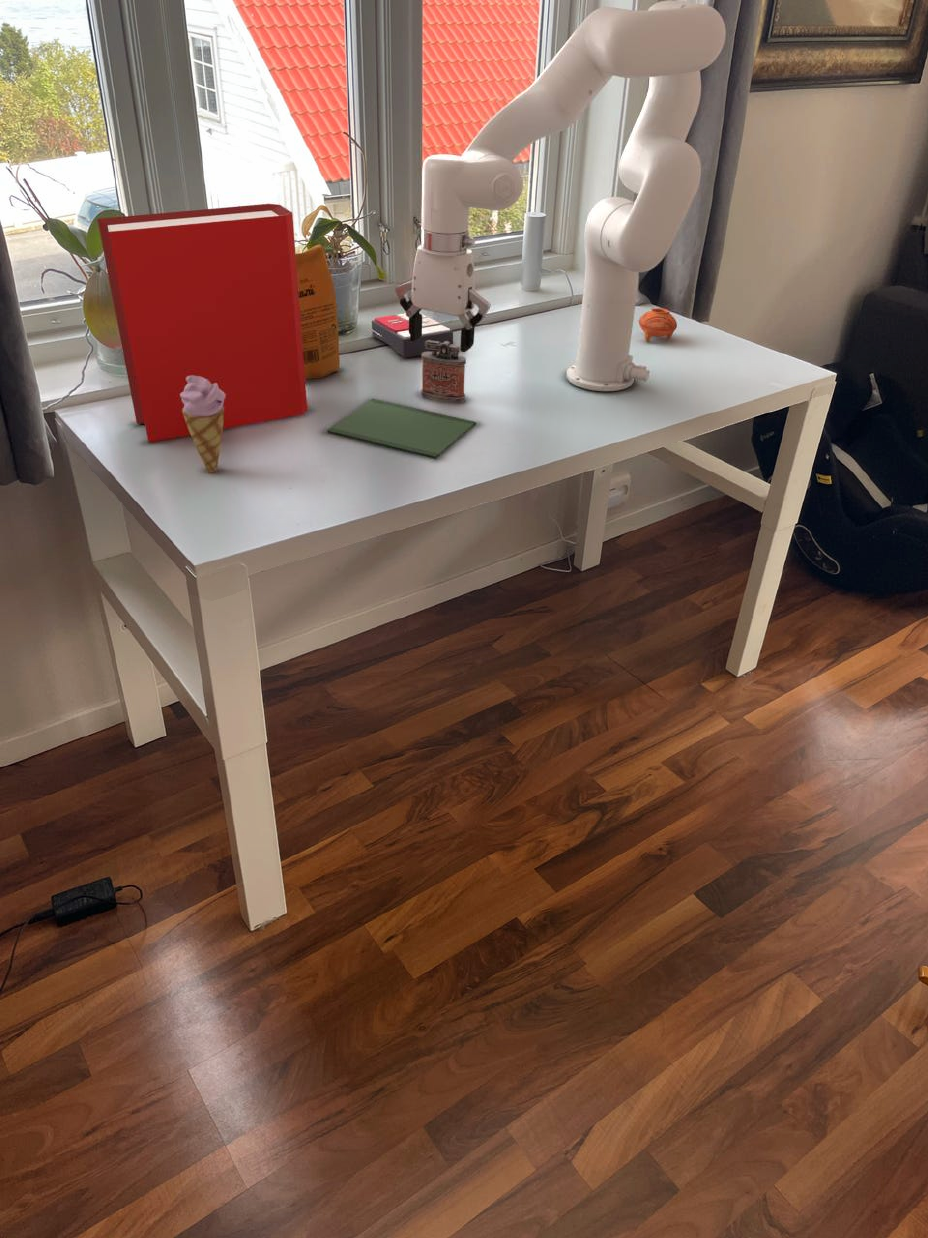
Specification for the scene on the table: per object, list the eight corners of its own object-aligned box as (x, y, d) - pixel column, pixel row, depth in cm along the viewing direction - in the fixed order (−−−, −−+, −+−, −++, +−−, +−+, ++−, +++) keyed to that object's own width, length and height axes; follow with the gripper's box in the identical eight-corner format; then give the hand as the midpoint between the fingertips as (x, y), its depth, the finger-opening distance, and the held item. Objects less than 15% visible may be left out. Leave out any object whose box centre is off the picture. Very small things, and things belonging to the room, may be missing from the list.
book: (148, 442, 149) (108, 231, 131) (136, 423, 155) (97, 218, 136) (310, 413, 160) (294, 214, 141) (293, 396, 166) (277, 202, 147)
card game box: (418, 309, 195) (454, 327, 184) (419, 329, 197) (454, 349, 187) (370, 316, 190) (404, 335, 180) (371, 337, 193) (404, 357, 182)
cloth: (475, 423, 158) (476, 421, 158) (435, 458, 147) (435, 456, 147) (373, 400, 165) (373, 398, 165) (327, 432, 154) (327, 430, 154)
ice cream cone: (195, 460, 145) (181, 366, 136) (236, 459, 145) (224, 366, 137) (189, 480, 140) (173, 383, 131) (231, 479, 140) (218, 383, 131)
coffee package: (261, 370, 175) (248, 248, 162) (318, 356, 182) (310, 237, 169) (289, 387, 169) (278, 261, 156) (346, 372, 176) (341, 250, 163)
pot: (627, 332, 197) (637, 300, 193) (658, 338, 200) (669, 307, 196) (644, 344, 190) (655, 311, 187) (676, 350, 193) (688, 317, 190)
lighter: (467, 397, 168) (468, 342, 162) (461, 404, 165) (462, 348, 159) (425, 390, 170) (425, 335, 164) (418, 397, 167) (418, 341, 161)
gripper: (502, 243, 152) (495, 347, 162) (408, 227, 157) (406, 329, 167) (483, 253, 146) (477, 360, 156) (386, 236, 152) (386, 341, 162)
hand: (440, 344), depth 162 cm, fingers open, 9 cm apart
